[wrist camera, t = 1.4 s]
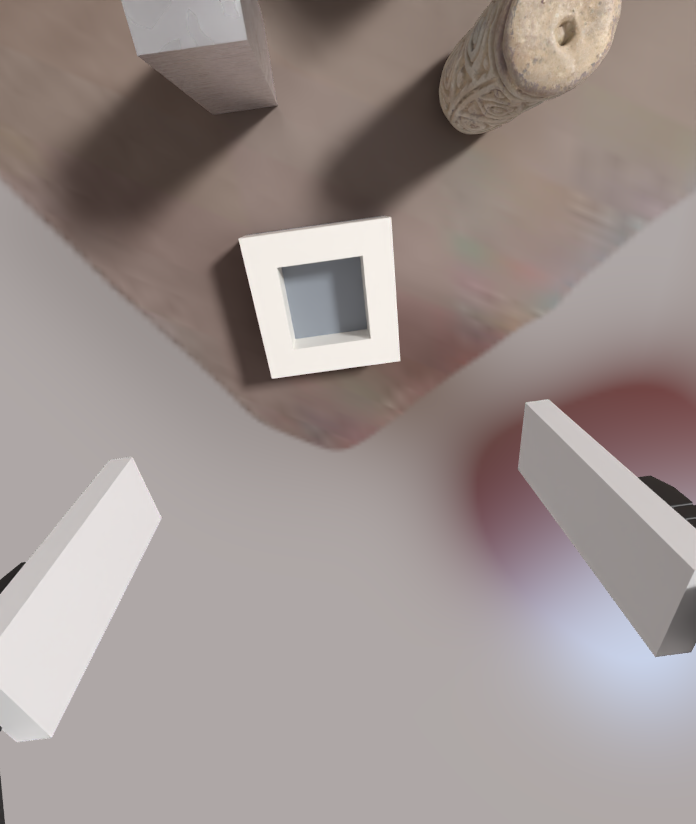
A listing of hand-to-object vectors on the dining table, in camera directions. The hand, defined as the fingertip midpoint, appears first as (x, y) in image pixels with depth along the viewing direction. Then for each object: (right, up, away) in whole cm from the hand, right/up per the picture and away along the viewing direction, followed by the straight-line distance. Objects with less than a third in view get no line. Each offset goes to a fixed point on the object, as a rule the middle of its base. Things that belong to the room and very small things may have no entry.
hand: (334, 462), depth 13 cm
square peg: (-8, +27, +15) cm, 32 cm away
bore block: (-2, +13, +23) cm, 27 cm away
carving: (+10, +27, +17) cm, 33 cm away
